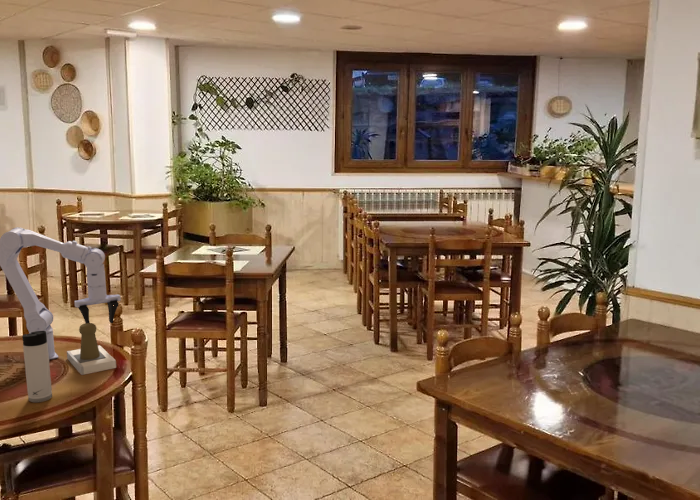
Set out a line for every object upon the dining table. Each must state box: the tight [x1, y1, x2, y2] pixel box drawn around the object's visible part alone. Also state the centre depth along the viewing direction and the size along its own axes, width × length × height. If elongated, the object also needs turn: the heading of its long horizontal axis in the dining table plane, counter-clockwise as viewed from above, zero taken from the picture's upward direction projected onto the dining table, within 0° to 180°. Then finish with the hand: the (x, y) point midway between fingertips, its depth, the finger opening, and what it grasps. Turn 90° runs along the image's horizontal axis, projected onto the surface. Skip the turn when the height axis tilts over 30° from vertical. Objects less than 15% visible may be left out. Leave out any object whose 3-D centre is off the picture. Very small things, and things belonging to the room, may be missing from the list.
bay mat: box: [74, 351, 106, 363], centre depth 223 cm, size 8×8×1 cm
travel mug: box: [22, 331, 53, 403], centre depth 195 cm, size 6×7×20 cm
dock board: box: [66, 345, 117, 376], centre depth 225 cm, size 18×11×3 cm, turn 35°
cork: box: [78, 322, 100, 360], centre depth 222 cm, size 6×6×11 cm
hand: (99, 324), depth 231 cm, fingers open, 7 cm apart
